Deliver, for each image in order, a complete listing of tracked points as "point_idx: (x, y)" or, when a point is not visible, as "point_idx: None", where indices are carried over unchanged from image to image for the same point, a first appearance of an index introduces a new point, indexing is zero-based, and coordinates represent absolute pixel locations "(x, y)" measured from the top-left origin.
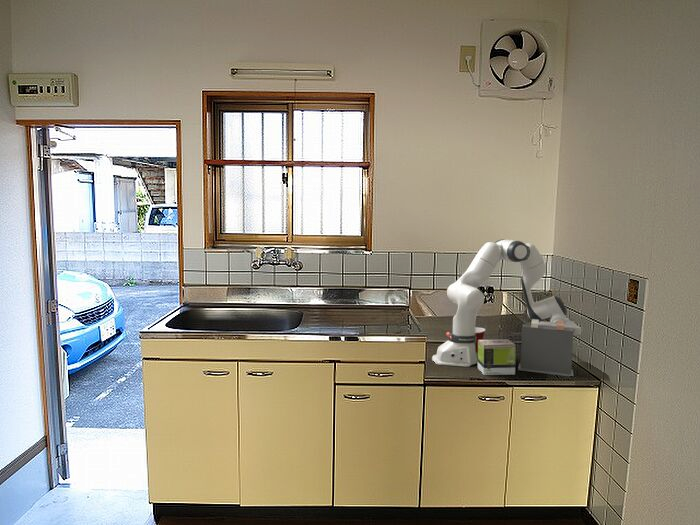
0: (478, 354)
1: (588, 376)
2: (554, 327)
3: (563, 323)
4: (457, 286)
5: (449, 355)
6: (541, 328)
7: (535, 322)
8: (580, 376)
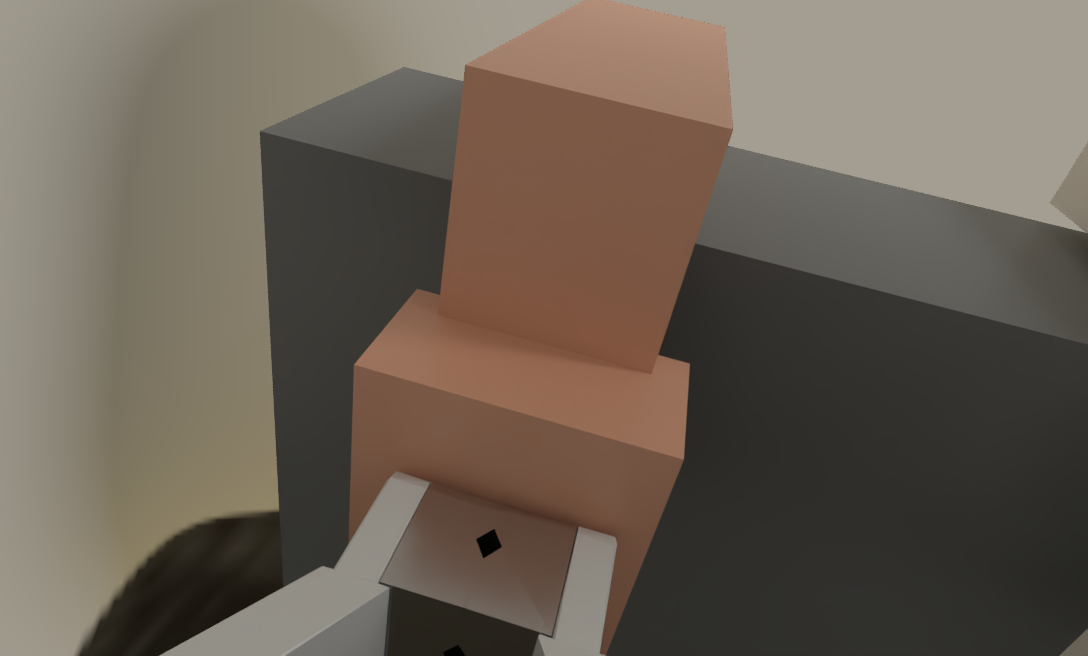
0: None
1: (161, 601)
2: (737, 219)
3: (550, 25)
4: None
5: None
6: (982, 208)
7: None
8: (264, 595)
